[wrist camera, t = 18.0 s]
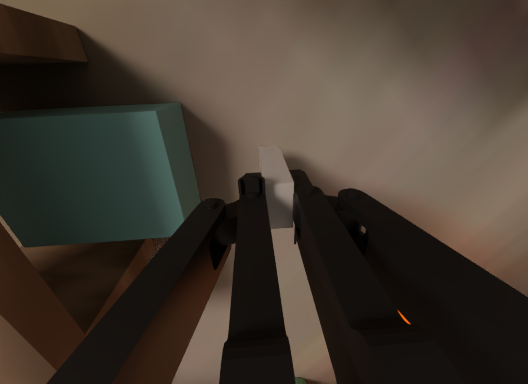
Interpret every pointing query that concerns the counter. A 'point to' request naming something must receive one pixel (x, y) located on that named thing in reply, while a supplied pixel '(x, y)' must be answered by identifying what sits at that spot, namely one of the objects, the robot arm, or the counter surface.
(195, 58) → the counter surface
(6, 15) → the shelf
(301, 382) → the mug
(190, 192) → the teal rectangular block
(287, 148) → the counter surface
